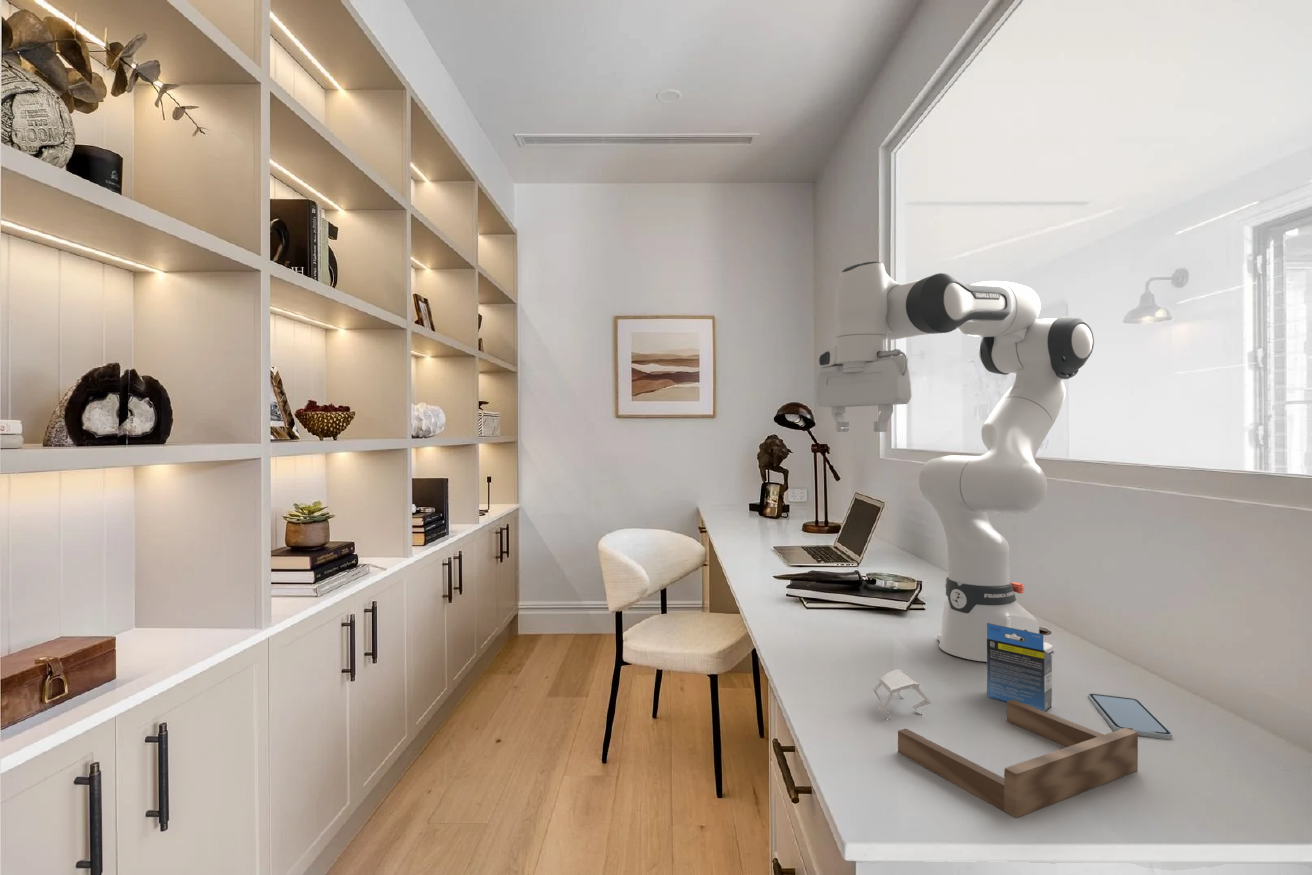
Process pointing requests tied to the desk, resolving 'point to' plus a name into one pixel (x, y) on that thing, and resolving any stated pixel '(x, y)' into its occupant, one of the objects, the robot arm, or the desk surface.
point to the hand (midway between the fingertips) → (860, 431)
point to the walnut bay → (1034, 762)
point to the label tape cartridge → (1018, 667)
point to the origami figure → (899, 688)
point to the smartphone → (1129, 715)
